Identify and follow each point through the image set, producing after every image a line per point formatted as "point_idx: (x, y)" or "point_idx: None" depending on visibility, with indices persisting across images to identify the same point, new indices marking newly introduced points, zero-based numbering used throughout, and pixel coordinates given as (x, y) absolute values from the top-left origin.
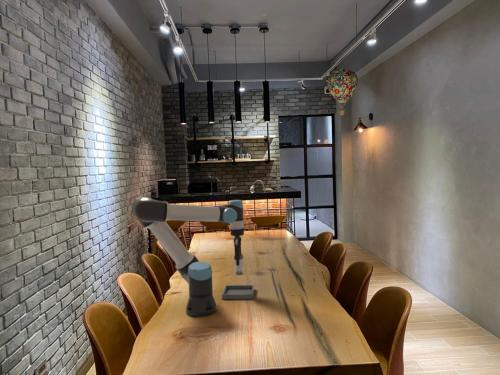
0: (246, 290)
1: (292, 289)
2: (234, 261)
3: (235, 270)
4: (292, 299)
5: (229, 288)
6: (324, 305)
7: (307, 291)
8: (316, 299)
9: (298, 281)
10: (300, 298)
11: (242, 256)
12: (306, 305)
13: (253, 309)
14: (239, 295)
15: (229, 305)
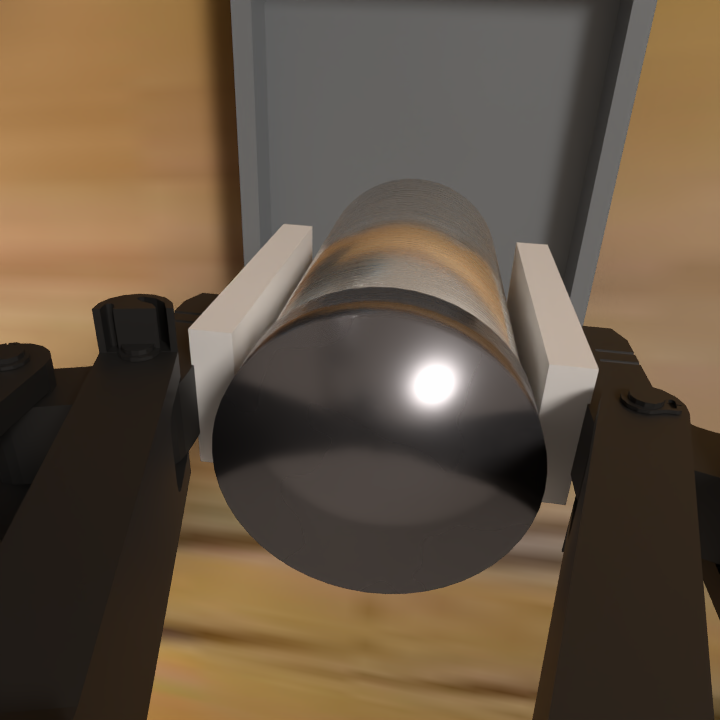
0: (510, 259)
1: (507, 632)
2: (358, 260)
3: (353, 212)
4: (274, 592)
5: (619, 17)
6: (177, 712)
7: (442, 700)
8: (277, 705)
9: (715, 706)
10: (295, 637)
11: (295, 561)
12: (166, 639)
13: (26, 307)
14: (242, 186)
15: (78, 61)
